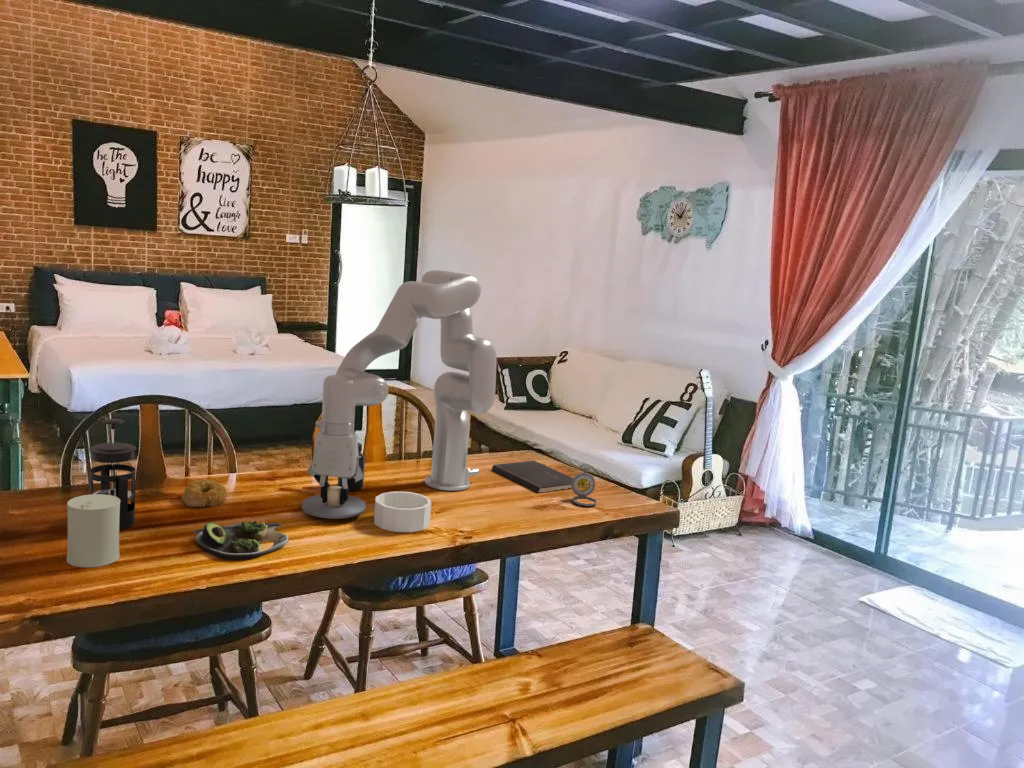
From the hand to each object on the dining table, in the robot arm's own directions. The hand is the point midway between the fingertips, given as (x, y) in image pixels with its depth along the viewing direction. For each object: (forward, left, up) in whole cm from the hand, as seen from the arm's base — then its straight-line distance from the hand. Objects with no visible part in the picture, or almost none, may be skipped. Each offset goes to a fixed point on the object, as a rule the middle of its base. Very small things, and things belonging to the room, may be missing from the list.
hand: (334, 501), depth 195 cm
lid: (0, 0, -1) cm, 1 cm away
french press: (+45, -14, -3) cm, 48 cm away
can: (+53, +3, -3) cm, 54 cm away
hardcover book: (-68, -2, -4) cm, 68 cm away
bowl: (-12, +12, -3) cm, 17 cm away
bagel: (+23, -20, -3) cm, 31 cm away
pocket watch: (-65, +20, -3) cm, 69 cm away
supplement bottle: (-14, -16, -3) cm, 21 cm away
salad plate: (+26, +8, -4) cm, 28 cm away
